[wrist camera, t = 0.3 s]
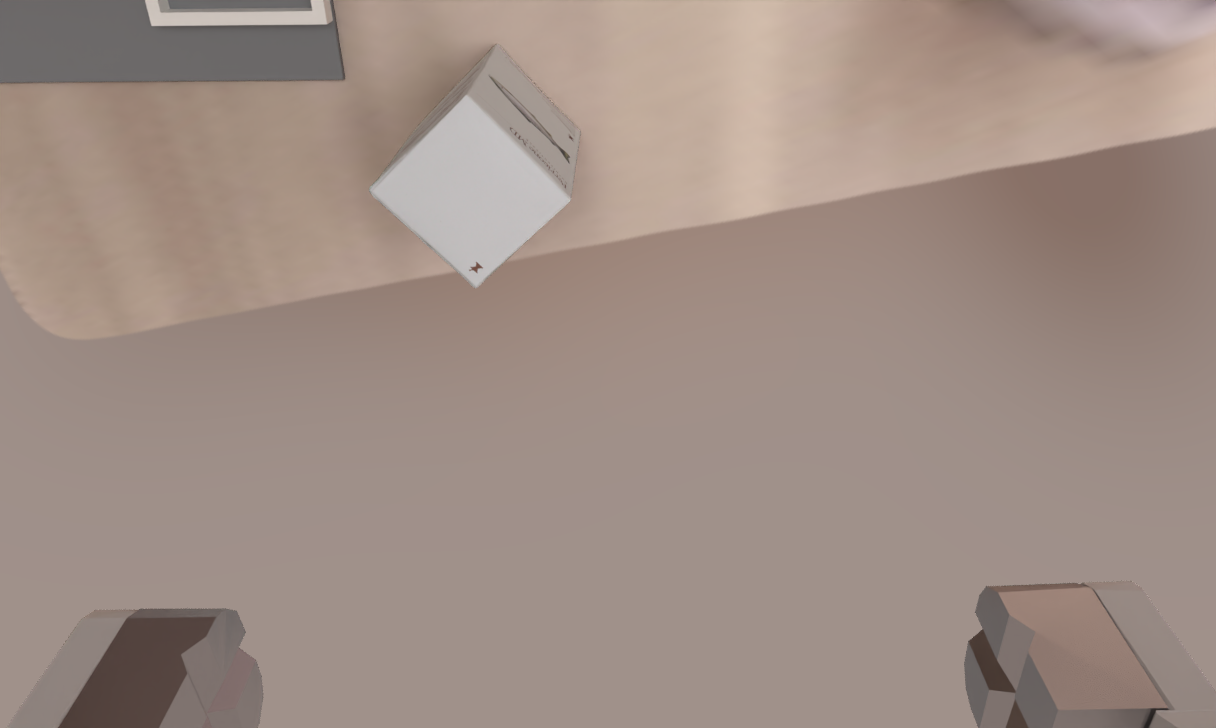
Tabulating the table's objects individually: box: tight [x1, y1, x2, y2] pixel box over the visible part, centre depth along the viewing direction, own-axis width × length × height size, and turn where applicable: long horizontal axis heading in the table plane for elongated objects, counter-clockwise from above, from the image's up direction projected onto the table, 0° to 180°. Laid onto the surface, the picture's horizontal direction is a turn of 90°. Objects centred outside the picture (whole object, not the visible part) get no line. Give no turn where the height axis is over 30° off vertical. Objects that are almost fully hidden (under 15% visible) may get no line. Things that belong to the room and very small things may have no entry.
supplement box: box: [369, 44, 581, 288], centre depth 49 cm, size 7×7×13 cm
